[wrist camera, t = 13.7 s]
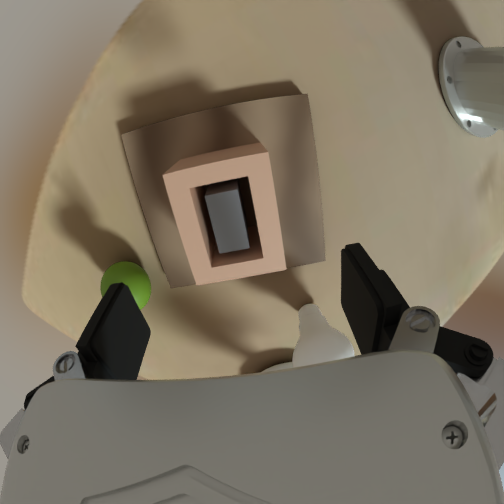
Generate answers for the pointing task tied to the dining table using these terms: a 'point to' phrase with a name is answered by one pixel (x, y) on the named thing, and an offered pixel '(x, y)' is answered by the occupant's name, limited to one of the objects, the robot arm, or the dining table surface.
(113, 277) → the snail figurine
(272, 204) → the tan rectangular frame
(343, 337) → the lightbulb
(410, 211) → the dining table surface
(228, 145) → the hub plate
